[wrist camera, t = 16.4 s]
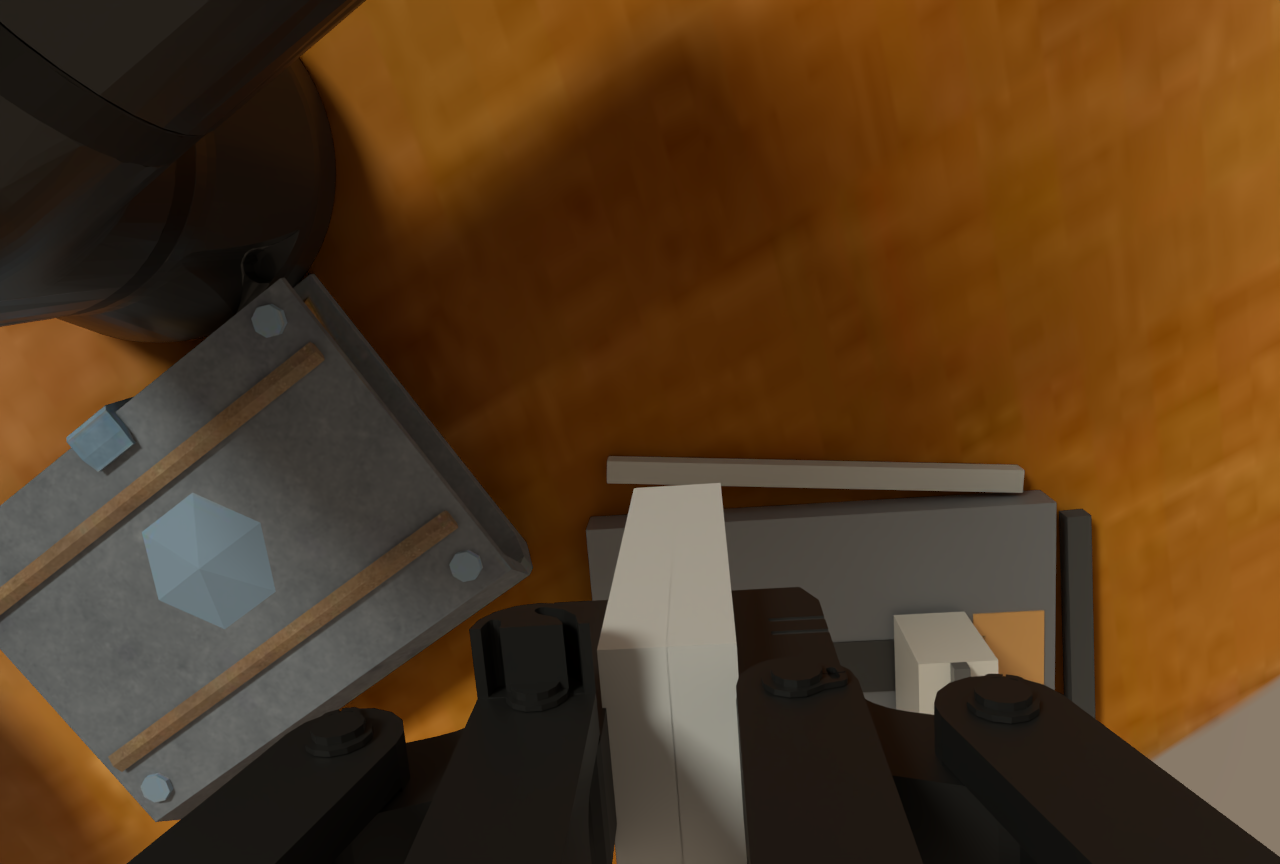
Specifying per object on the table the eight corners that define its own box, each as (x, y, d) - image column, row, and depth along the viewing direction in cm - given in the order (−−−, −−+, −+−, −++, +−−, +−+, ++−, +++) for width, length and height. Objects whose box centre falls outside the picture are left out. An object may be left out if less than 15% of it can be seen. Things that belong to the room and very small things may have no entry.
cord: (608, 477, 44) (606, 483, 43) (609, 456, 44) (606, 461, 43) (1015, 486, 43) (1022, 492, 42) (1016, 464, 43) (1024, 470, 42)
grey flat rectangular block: (616, 793, 47) (612, 819, 45) (590, 516, 44) (585, 531, 42) (1038, 776, 46) (1054, 802, 44) (1040, 490, 43) (1057, 503, 41)
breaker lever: (896, 721, 43) (924, 790, 38) (893, 615, 42) (922, 671, 37) (965, 718, 43) (1003, 787, 38) (964, 611, 42) (1003, 667, 37)
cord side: (1064, 717, 45) (1073, 728, 44) (1059, 511, 43) (1067, 517, 42) (1086, 715, 45) (1095, 726, 44) (1082, 508, 43) (1091, 515, 42)
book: (211, 785, 49) (158, 847, 44) (-15, 530, 47) (-97, 565, 42) (539, 553, 46) (521, 592, 41) (312, 265, 43) (264, 270, 38)
